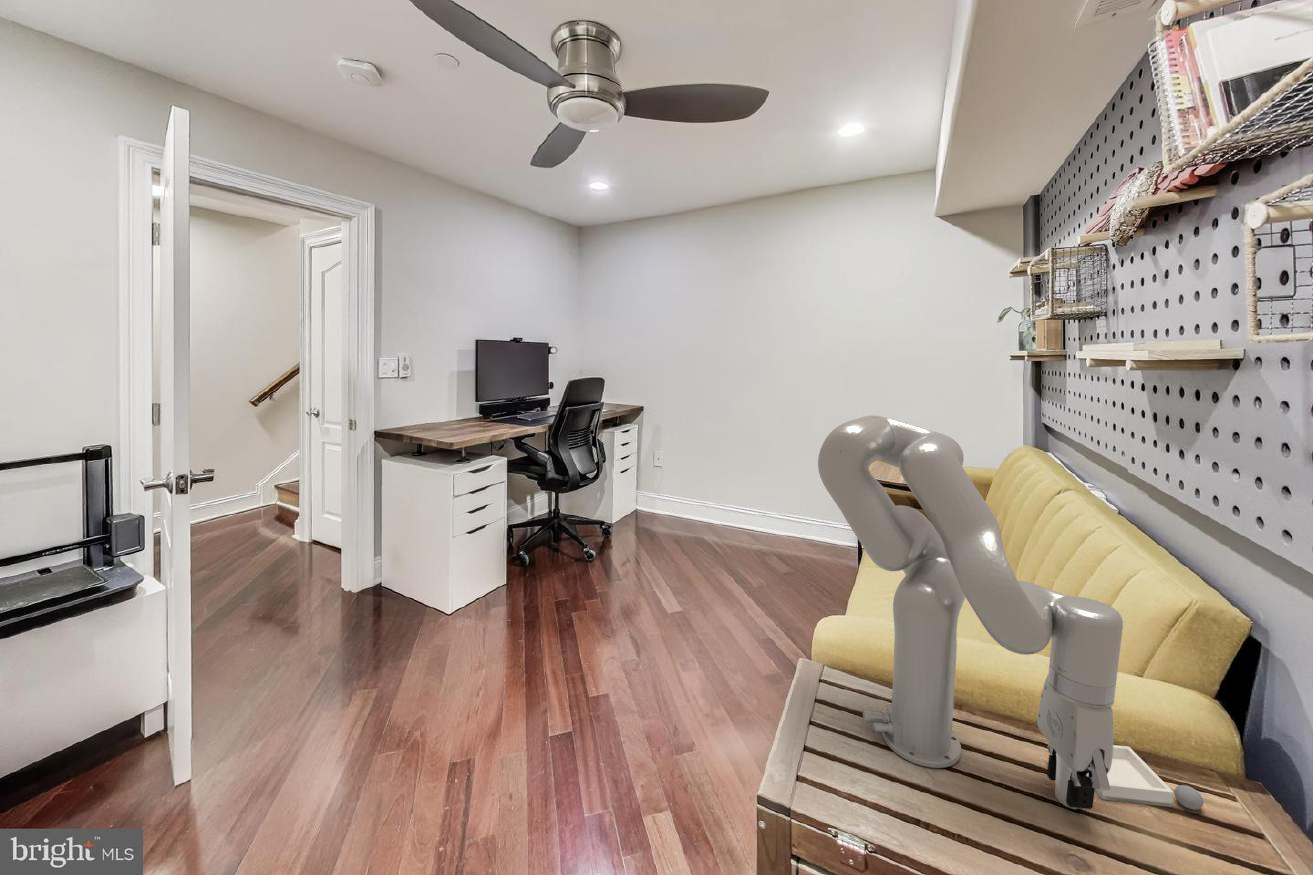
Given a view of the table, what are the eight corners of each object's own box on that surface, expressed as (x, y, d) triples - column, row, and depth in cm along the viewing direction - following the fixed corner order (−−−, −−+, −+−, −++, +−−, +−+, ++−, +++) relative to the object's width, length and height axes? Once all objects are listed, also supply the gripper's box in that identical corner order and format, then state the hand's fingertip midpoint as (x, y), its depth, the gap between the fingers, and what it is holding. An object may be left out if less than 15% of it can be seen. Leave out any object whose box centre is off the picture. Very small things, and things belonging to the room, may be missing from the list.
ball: (1184, 813, 75) (1186, 795, 74) (1167, 796, 78) (1170, 778, 77) (1208, 815, 74) (1210, 797, 74) (1190, 798, 77) (1193, 781, 77)
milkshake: (1046, 803, 77) (1054, 748, 75) (1052, 781, 80) (1060, 727, 78) (1084, 823, 74) (1094, 766, 71) (1089, 799, 77) (1098, 744, 75)
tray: (1102, 799, 77) (1103, 784, 77) (1065, 753, 86) (1066, 740, 86) (1172, 807, 76) (1174, 792, 75) (1127, 759, 85) (1129, 746, 84)
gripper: (1022, 649, 83) (1013, 748, 86) (1088, 719, 67) (1075, 840, 69) (1073, 652, 81) (1063, 753, 84) (1154, 725, 65) (1138, 848, 68)
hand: (1068, 791), depth 77 cm, fingers closed on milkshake, 4 cm apart
